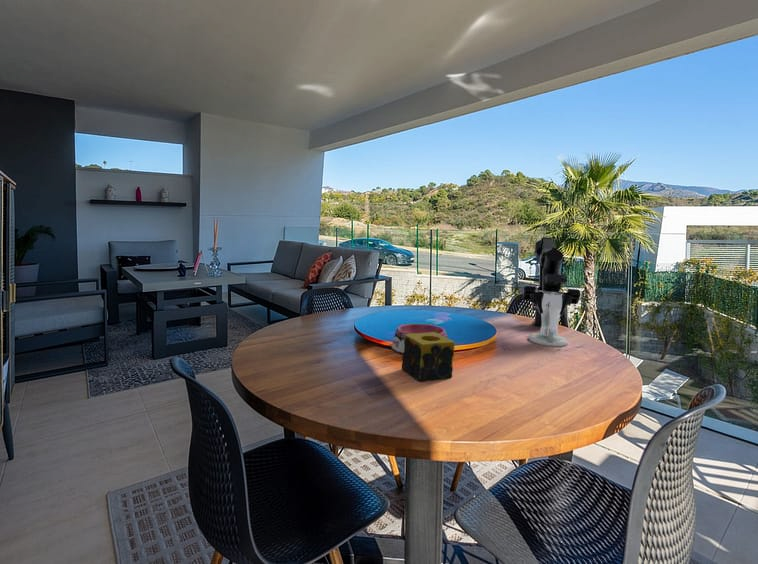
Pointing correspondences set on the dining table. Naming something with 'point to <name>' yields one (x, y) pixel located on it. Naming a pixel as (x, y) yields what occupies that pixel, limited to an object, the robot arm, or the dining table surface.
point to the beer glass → (550, 312)
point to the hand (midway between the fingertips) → (551, 314)
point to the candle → (428, 356)
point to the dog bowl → (411, 329)
